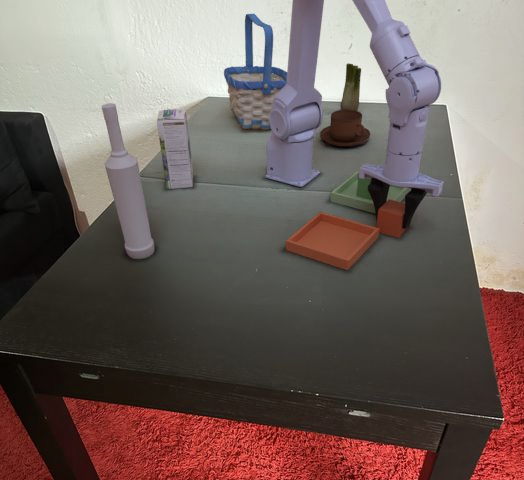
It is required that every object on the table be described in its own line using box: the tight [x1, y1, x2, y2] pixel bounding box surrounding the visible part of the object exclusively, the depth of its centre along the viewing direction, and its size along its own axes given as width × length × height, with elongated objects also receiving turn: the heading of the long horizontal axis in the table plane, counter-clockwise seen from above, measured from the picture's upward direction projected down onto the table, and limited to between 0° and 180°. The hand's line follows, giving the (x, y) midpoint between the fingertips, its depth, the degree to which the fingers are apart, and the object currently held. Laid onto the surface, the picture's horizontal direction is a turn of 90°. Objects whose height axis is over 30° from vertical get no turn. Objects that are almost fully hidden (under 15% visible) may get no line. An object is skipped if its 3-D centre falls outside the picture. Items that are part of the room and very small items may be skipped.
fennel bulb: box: [340, 62, 362, 111], centre depth 138 cm, size 6×5×12 cm
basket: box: [223, 13, 287, 131], centre depth 132 cm, size 21×16×24 cm
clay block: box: [375, 199, 409, 239], centre depth 95 cm, size 4×4×4 cm
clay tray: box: [285, 211, 380, 271], centre depth 93 cm, size 12×12×2 cm
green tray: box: [329, 169, 411, 215], centre depth 106 cm, size 12×12×2 cm
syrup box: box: [156, 108, 194, 190], centre depth 109 cm, size 6×6×14 cm
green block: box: [357, 175, 372, 200], centre depth 105 cm, size 4×4×4 cm
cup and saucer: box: [319, 109, 371, 147], centre depth 126 cm, size 12×12×6 cm
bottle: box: [101, 102, 156, 260], centre depth 86 cm, size 5×5×25 cm
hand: (393, 222), depth 96 cm, fingers closed on clay block, 4 cm apart
